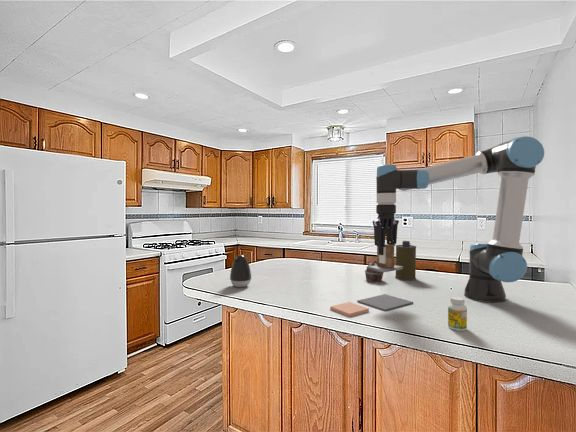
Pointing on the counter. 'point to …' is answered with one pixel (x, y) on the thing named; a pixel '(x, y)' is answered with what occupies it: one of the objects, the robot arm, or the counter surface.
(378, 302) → the mat
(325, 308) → the counter surface
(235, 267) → the black grey egg shape
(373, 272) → the cupcake
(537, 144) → the robot arm
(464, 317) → the supplement bottle
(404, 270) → the canister
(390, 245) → the wooden block on base
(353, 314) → the tile
